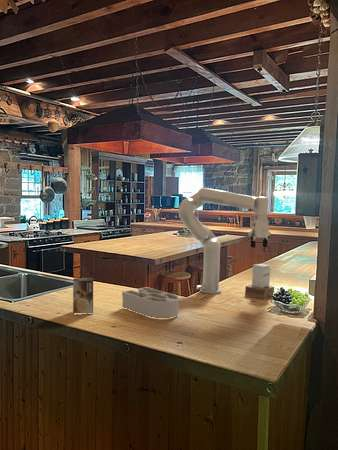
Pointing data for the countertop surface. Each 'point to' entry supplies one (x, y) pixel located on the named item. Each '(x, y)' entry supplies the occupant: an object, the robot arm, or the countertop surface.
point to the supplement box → (261, 275)
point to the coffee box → (83, 295)
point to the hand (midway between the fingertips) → (258, 247)
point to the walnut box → (259, 292)
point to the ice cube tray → (151, 302)
